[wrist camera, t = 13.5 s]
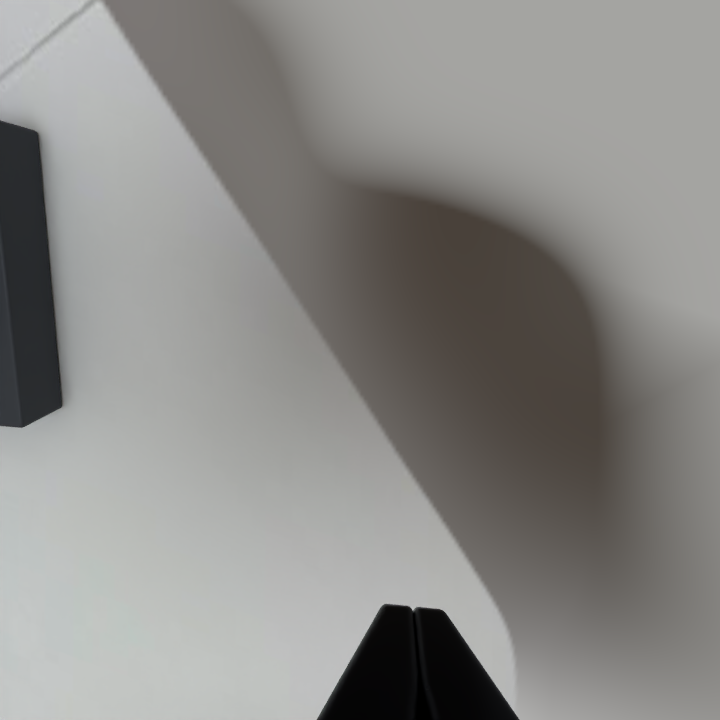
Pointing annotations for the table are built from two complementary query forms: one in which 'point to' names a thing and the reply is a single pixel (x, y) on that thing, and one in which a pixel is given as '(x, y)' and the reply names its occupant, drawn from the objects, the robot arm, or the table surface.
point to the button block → (24, 286)
